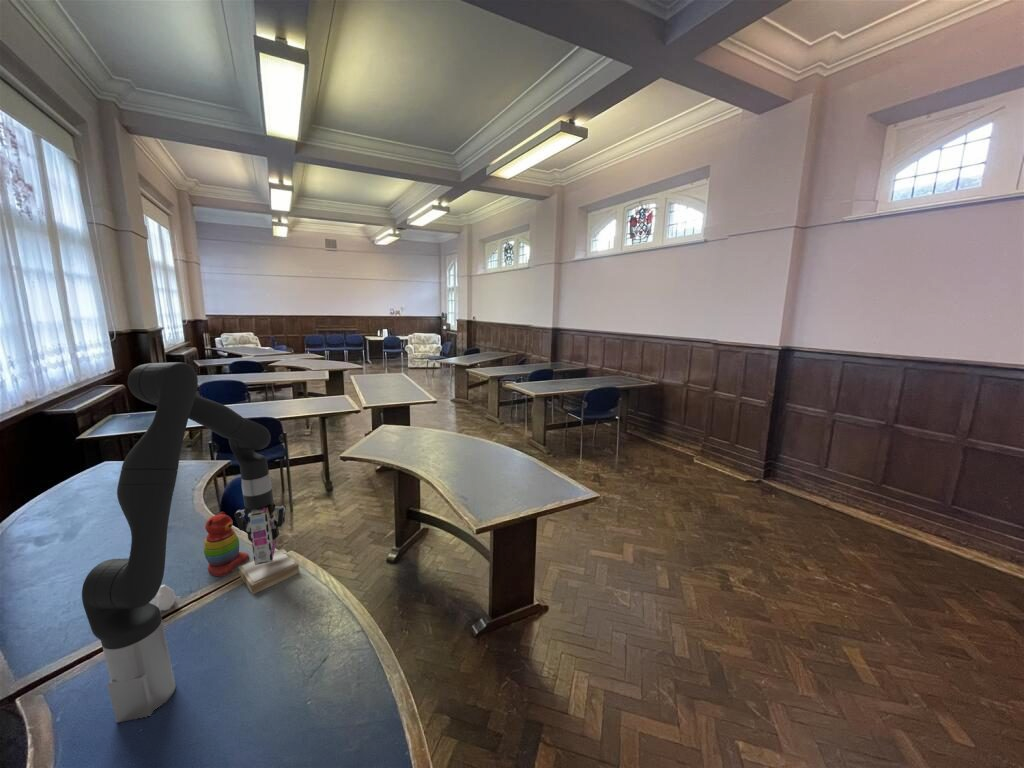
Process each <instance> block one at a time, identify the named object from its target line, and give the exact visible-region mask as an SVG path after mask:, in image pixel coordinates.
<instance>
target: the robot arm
mask: <svg viewBox="0 0 1024 768" xmlns="http://www.w3.org/2000/svg"><path fill="white" fill-rule="evenodd" d="M127 377H128V378H127V386H128V389H129V391H130V393H131V394H132V395H133V396H134V397H135V398H137V399H138V400H140V401H141V402H144V403H147V404H150V405H153V406H156V411H155V415H154V417H153V420H152V422H151V424H150V425H149V427H148V428H147V430H146V431H145V432H144V434H143V435H142V436H141V437H140V438H139V440H138V441H137V442H136V443H135V444H134V446H133V447H132V448H131V449H130V451H129V452H128V453H127V455H126V457H125V458H124V460H123V463H122V466H121V470H120V474H119V479H118V483H117V489H116V495H117V497H116V498H117V501H118V504H119V506H120V509H121V511H122V513H123V515H124V517H125V519H126V521H127V522H126V523H128V526H129V529H130V534H131V535H130V537H131V540H130V541H131V543H130V551H129V556H128V557H127V558H112V559H111V558H110V559H107V560H104V561H102V562H100V563H98V564H97V565H95V567H93V568H92V569H91V570H90V571H89V572H88V574H87V576H85V579H84V581H83V584H82V587H81V601H82V605H83V609H84V613H85V615H86V618H87V621H88V623H89V627H90V631H92V634H93V636H94V637H96V638H97V639H98V640H99V641H100V643H101V646H102V650H103V654H104V659H105V663H106V667H107V671H108V674H109V675H108V676H109V679H110V681H109V682H108V683H107V690H108V694H109V697H110V701H111V706H112V710H113V715H114V718H115V721H116V723H122V722H127V721H129V722H130V721H134V720H138V718H140V719H144V718H143V717H145V718H148V717H147V716H150V715H151V714H152V713H153V714H154V712H155V711H156V710H155V709H157V708H158V707H159V706H161V705H162V704H163V703H164V704H165V703H167V701H168V700H170V698H171V697H172V695H173V694H174V692H175V690H176V687H177V686H176V681H175V675H174V670H173V667H172V661H171V657H170V652H169V647H168V643H167V642H168V641H167V638H166V633H165V628H164V626H165V625H164V622H163V617H162V612H161V610H159V608H158V607H157V606H156V604H155V605H153V604H151V602H150V601H151V600H152V599H155V598H156V595H157V592H158V591H159V589H160V586H161V585H162V584H163V579H164V573H165V568H166V567H165V566H166V555H167V553H166V552H167V535H168V528H169V527H168V525H169V522H170V521H169V520H170V519H169V517H170V513H171V505H172V500H173V495H174V490H175V488H176V482H177V477H178V470H179V465H180V459H181V458H180V456H181V451H182V446H183V442H184V438H185V432H186V428H187V426H188V421H189V420H191V421H193V422H195V423H197V424H199V425H201V426H202V427H204V428H207V429H208V430H210V431H211V432H214V433H215V434H216V435H219V436H220V437H222V438H225V439H227V440H228V444H229V447H230V450H231V451H232V455H233V456H234V458H235V460H236V462H237V464H238V465H239V470H240V476H241V477H240V479H241V491H242V498H243V504H244V509H241V508H240V509H238V510H236V512H234V514H233V517H234V519H235V522H236V524H237V527H238V530H240V531H245V532H246V533H247V539H248V541H250V543H252V540H251V533H250V526H249V521H246V518H245V516H247V517H248V514H249V512H250V509H258V508H262V507H268V510H269V516H271V519H270V524H271V528H272V529H271V531H272V538H273V540H275V539H276V540H277V538H278V537H279V536H280V529H279V528H281V527H282V526H283V524H284V523H285V521H286V511H287V510H286V508H287V506H286V505H284V504H283V505H281V506H279V505H278V506H276V504H275V503H274V495H273V494H274V493H273V488H272V487H273V484H272V480H271V476H270V473H269V465H268V459H267V456H265V455H263V454H260V453H258V452H256V451H261V450H263V449H265V448H267V447H268V446H269V444H270V443H271V439H272V438H271V436H272V435H271V433H270V431H269V429H268V428H267V427H265V426H264V425H263V424H260V423H258V422H256V421H253V420H250V419H248V418H246V417H243V416H241V415H240V414H238V412H236V411H234V410H233V409H232V408H230V407H228V406H227V405H224V404H222V403H219V402H218V401H217V402H216V401H215V400H212V399H208V398H205V397H203V396H201V395H198V394H197V391H198V385H199V384H198V383H199V380H198V374H197V372H196V369H194V367H193V366H192V365H190V364H189V363H186V362H180V361H179V362H177V361H176V362H171V361H170V362H151V363H150V362H149V363H144V364H139V365H138V366H136V367H134V368H133V369H132V370H131V371H130V372H129V374H128V376H127ZM274 512H276V514H277V515H278V517H277V518H276V515H275V514H274ZM164 704H163V705H164ZM163 705H162V706H163ZM162 706H161V707H162ZM159 708H160V707H159ZM159 708H158V709H159ZM158 709H157V710H158ZM154 710H155V711H154ZM153 711H154V712H153ZM153 714H152V715H153ZM152 715H151V716H152ZM151 716H150V717H151ZM133 719H134V720H133Z"/></svg>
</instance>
